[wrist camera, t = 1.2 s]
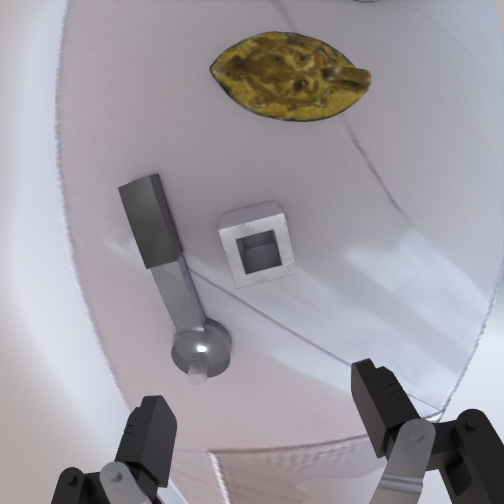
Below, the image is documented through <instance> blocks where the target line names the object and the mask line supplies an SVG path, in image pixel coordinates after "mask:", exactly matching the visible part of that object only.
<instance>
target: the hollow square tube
mask: <svg viewBox="0 0 504 504" xmlns="http://www.w3.org/2000/svg"><path fill="white" fill-rule="evenodd" d="M269 230H271V231H272V235H273V239H274V242H272V243H268V244H264V245H260V246H256V247H252V248H248V249H244V247H243V243H242V240H241V238H242V237H246V236H250V235H253V234H257V233H261V232H265V231H269ZM219 233H220V237H221V240H222V243H223V247H224V250H225V253H226V256H227V260H228V263H229V266H230V269H231V272H232V276H233V279H234V282H235V285H236V288H241V287H245V286H249V285H253V284H258V283H261V282H265V281H269V280H273V279H277V278H281V277H285V276H289V275H293V274H296V273H297V269H296V264H295V260H294V255H293V251H292V246H291V242H290V237H289V233H288V228H287V224H286V220H285V215H284V212H283V211H282V210H281V208H280V207H279V205H278V204H277V203H276V201H275V200H273V201H269V202H265V203H261V204H257V205H253V206H249V207H246V208H242V209H238V210H234V211H231V212H227V213H223V216H222V219H221V223H220V227H219Z"/></svg>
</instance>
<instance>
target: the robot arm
mask: <svg viewBox="0 0 504 504" xmlns="http://www.w3.org/2000/svg"><path fill="white" fill-rule="evenodd" d="M358 1H365V2H370V1H377V0H358ZM351 392H352V396H353V400H354V402H355V404H356V407H357V409H358V412H359V414H360V416H361V419H362V421H363V424H364V426H365V428H366V431H367V433H368V436H369V438H370V441H371V443H372V446H373V448H374V451H375V453H376V456H377V458H381V457H383V456H386V459H387V461H388V463H387V465H386V468H385V470H384V473H383V475H382V477H381V480H380V482H379V484H378V486H377V488H376V490H375V493H374V494H373V497H372V499H371V501H370V503H369V504H417V502H418V500H419V497H420V494H421V492H422V488H423V484H422V481H423V478H424V475H425V472H426V471H430V470H436V469H439V472H440V474H441V476H442V479H443V481H444V484H445V486H446V489H447V491H448V494H449V497H450V499H451V502H452V504H504V445H503V443H502V441H501V439H500V438H499V436H498V434H497V433H496V431H495V430H494V428H493V426H492V425H491V423H490V421H489V420H488V418H487V417H486V415H485V414H484V413H483V412H482V411H480V410H478V409H468V410H465V411H463V412H462V413H461V414H460V415H459V416H458V418H457V419H456V420H453V421H448V422H443V423H431V422H429V421H428V420H425V419H422V418H421V417H420V416H419V414H418V413H417V411H416V409H415V408H414V406H413V404H412V403H411V401H410V399H409V398H408V396H407V394H406V393H405V391H404V390H403V388H402V386H401V385H400V383H399V382H398V380H397V378H396V377H395V375H394V373H393V372H392V371H390V370H389V369H387V368H386V367H384V366H382V367H379V368H375V366H374V364H373V362H372V361H371V359H369V358H368V359H365V360H362V361H358V362H355V363H352V366H351ZM176 431H177V421H176V418H175V416H174V414H173V412H172V411H171V409H170V407H169V406H168V404H167V402H166V401H165V399H164V398H163V396H161V395H158V396H145V397H144V398H143V400H142V403H141V406H140V407H136V408H135V409H134V411H133V412H132V413H131V414H130V415H129V418H128V421H127V424H126V427H125V430H124V434H123V436H122V439H121V442H120V445H119V448H118V451H117V454H116V458H115V460H114V462H111V463H108V464H107V465H106V466H104V467H103V468H102V470H101V472H96V473H87V474H84V473H83V472H82V471H81V470H79V469H78V468H75V467H70V468H67V469H65V470H64V471H63V472H62V473H61V474H60V477H59V480H58V483H57V486H56V489H55V493H54V496H53V499H52V502H51V504H165V503H164V502H163V501H162V499H161V498H160V496H159V495H158V494H157V489H158V487H165V488H167V485H168V479H169V473H170V466H171V460H172V454H173V448H174V443H175V437H176Z"/></svg>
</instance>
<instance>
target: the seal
mask: <svg viewBox="0 0 504 504" xmlns="http://www.w3.org/2000/svg"><path fill="white" fill-rule="evenodd" d="M210 72H211V73H212V75H213V76H214V78H215V79H216V80H217V81H218V83H219V84H220V85H221V86H222V88H223V89H224V91H225V92H226V93H227V95H228V96H229V97H231V98H232V99H233V100H234V101H235V102H237V103H238V104H239V105H241V106H242V107H244V108H245V109H247V110H249V111H251V112H253V113H255V114H257V115H260V116H265V117H269V118H274V119H279V120H284V121H300V122H306V121H315V120H321V119H326V118H330V117H332V116H335V115H337V114H339V113H341V112H343V111H345V110H346V109H348V108H349V107H351V106H352V105H353V104H354V103H356V102H357V101H358V100H359V99H360V98H361V97H362V96H363V95H364V94H365V93H366V91H367V90H368V89H369V86H370V85H371V82H372V79H371V74H370V72H369V71H367V70H364V69H357V68H356V67H355V66H354V65H353V64H352V63H351V62H350V61H349V60H348V59H347V58H346V57H345V56H344V55H343V54H342V53H341V52H339V51H338V50H336V49H334V48H333V47H331V46H330V45H328V44H326V43H325V42H323V41H320V40H317V39H314V38H311V37H307V36H303V35H300V34H297V33H291V32H284V33H283V32H266V33H261V34H258V35H255V36H252V37H249V38H247V39H245V40H243V41H240V42H239V43H237V44H236V45H233V46H231V47H230V48H228V49H227V50H225V51H224V52H223V53H222V54H221V55H220V56H219V57H218V58H217V59H216V60H215V61H214V63H213V64H212V65H211V66H210Z"/></svg>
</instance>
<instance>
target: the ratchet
mask: <svg viewBox="0 0 504 504" xmlns="http://www.w3.org/2000/svg"><path fill="white" fill-rule="evenodd" d="M118 190H119V193H120V196H121V199H122V202H123V205H124V209H125V212H126V214H127V217H128V220H129V223H130V226H131V229H132V232H133V235H134V237H135V240H136V243H137V245H138V248H139V251H140V253H141V256H142V259H143V261H144V264H145V266H146V269H149V268H150V269H151V272H152V274H153V277H154V279H155V281H156V284H157V286H158V289H159V291H160V293H161V296H162V298H163V300H164V303H165V305H166V307H167V310H168V312H169V314H170V316H171V319H172V321H173V323H174V325H175V327H176V329H177V334H176V337H175V340H174V343H173V347H172V351H171V354H172V359H173V361H174V363H175V364H176V366H177V367H178V368H179V369H180V370H182V371H183V372H185V373H187V374H188V377H189V379H190V381H191V383H192V384H193V385H198V384H205V383H206V379H207V378H209V377H214V376H217V375H219V374H221V373H223V372H224V371H225V370H226V369H227V367H228V366H229V363H230V350H231V338H230V335H229V333H228V331H227V330H226V329H225V328H224V327H223V326H222V325H221V324H219V323H218V322H216V321H213V320H211V319H206V316H205V314H204V311H203V308H202V306H201V303H200V301H199V298H198V296H197V293H196V290H195V288H194V285H193V282H192V280H191V277H190V274H189V272H188V269H187V266H186V263H185V260H184V258H183V255H182V252H183V249H182V246H181V243H180V240H179V237H178V234H177V231H176V228H175V225H174V222H173V219H172V216H171V213H170V210H169V207H168V204H167V201H166V197H165V194H164V191H163V188H162V184H161V181H160V178H159V174H154V175H151V176H147V177H145V178H142V179H139V180H137V181H134V182H131V183H129V184H126V185H123V186H121V187H118Z"/></svg>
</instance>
